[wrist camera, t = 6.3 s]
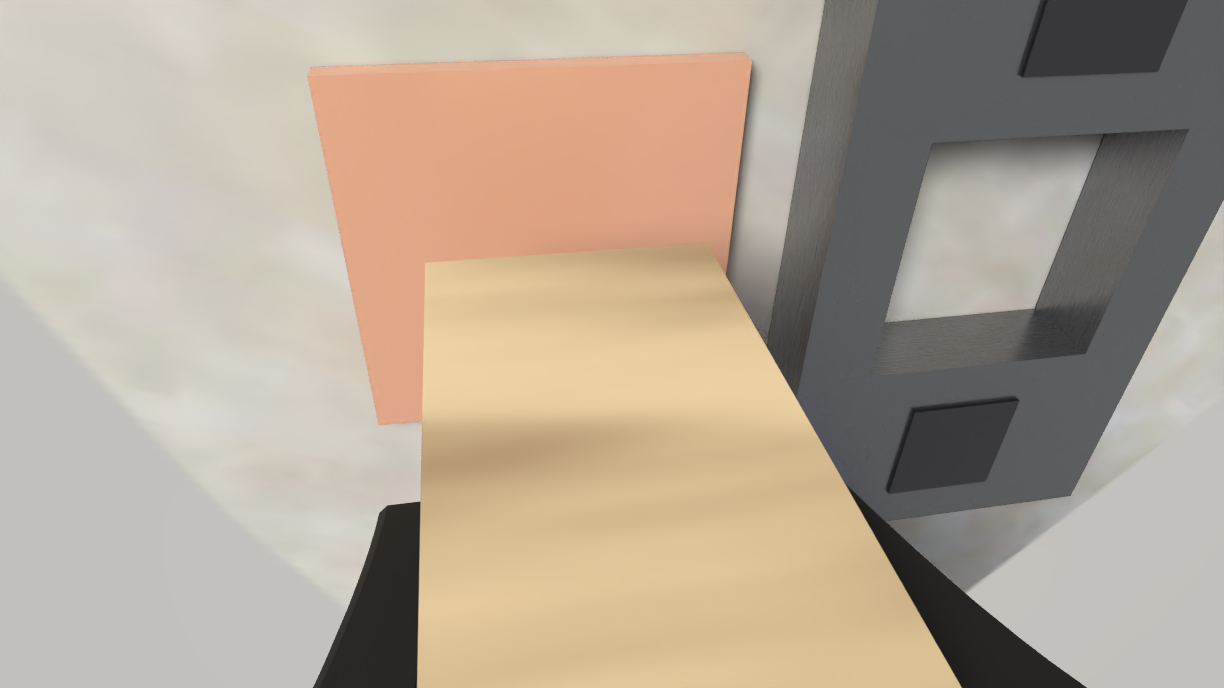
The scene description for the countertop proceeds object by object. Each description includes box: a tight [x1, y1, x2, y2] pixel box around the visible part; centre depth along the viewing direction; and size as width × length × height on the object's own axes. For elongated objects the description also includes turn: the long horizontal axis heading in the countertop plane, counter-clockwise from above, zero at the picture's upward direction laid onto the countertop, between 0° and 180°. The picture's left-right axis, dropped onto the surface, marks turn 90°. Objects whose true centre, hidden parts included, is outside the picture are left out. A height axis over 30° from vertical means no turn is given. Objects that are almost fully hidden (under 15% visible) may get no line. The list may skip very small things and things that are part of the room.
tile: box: [308, 53, 752, 425], centre depth 17 cm, size 8×8×1 cm
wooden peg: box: [417, 243, 962, 688], centre depth 10 cm, size 4×4×8 cm
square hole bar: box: [767, 0, 1224, 521], centre depth 18 cm, size 16×9×2 cm, turn 179°
